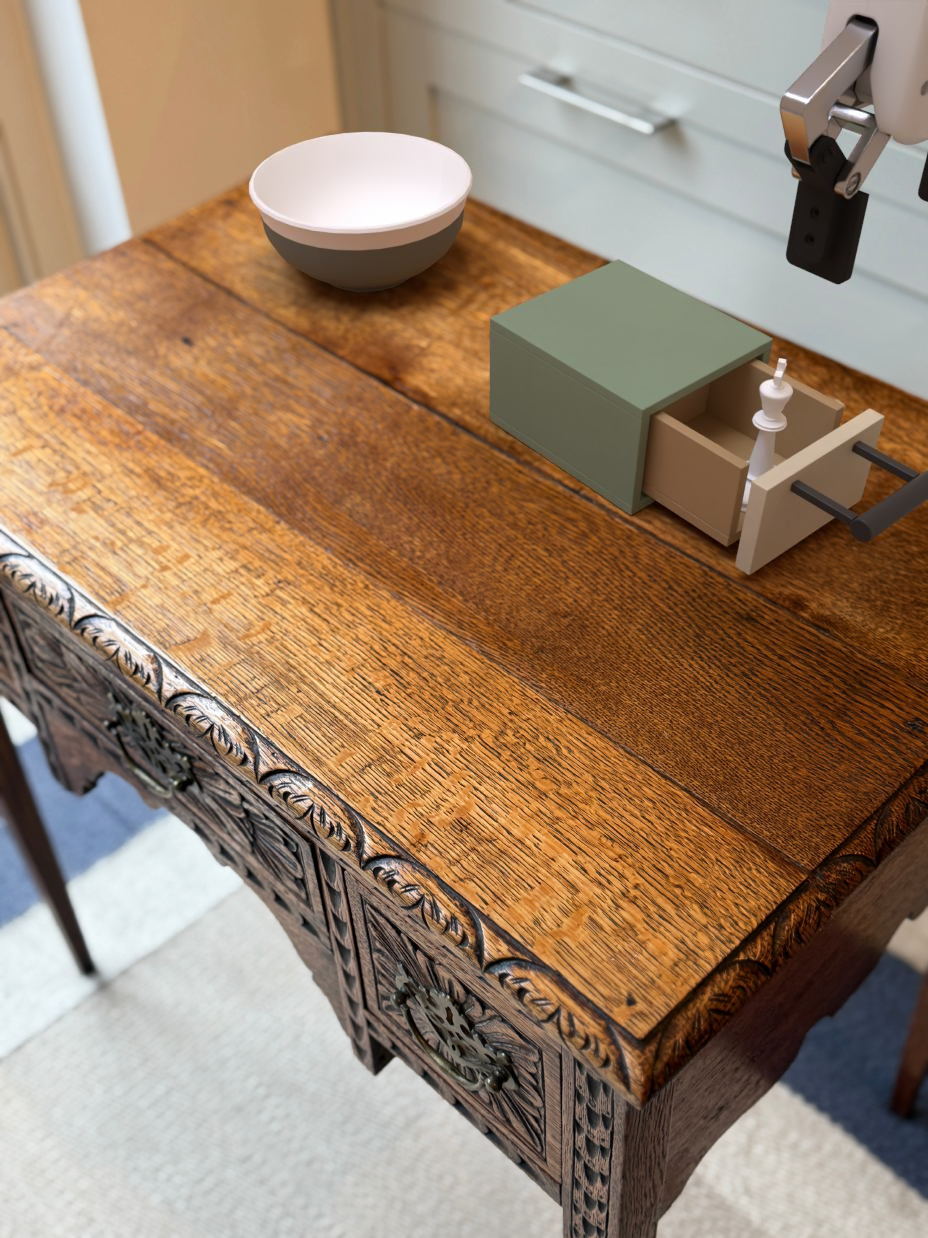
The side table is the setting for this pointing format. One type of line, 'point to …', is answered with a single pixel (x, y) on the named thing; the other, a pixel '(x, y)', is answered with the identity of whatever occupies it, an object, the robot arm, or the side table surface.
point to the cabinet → (607, 371)
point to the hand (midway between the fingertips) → (885, 237)
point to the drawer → (785, 495)
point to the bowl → (362, 206)
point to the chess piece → (768, 426)
